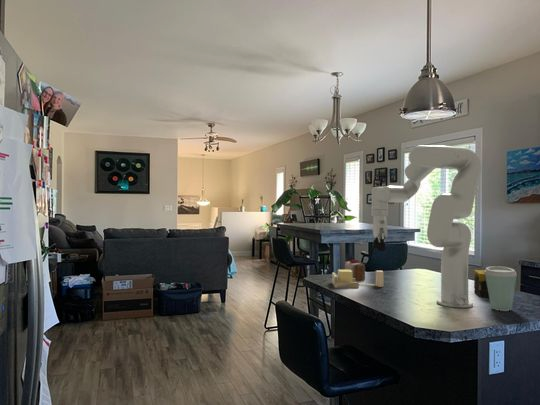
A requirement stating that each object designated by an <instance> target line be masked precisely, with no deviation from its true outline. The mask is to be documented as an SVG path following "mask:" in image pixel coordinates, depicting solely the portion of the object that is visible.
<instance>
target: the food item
mask: <svg viewBox="0 0 540 405" xmlns="http://www.w3.org/2000/svg"><path fill="white" fill-rule="evenodd" d="M344 270H351V271H352V278H355V282H359V281H361V280H362V281H363V282H364V281H365V280H366V265H365V264H363V263H360V260H359V259H352V260H349V261H345V262H344ZM362 281H361V282H362Z"/></svg>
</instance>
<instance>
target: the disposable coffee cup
mask: <svg viewBox="0 0 540 405" xmlns="http://www.w3.org/2000/svg"><path fill="white" fill-rule="evenodd" d="M484 270H485V272H484V274H485V276H486V282H487V287H488V293H489V302H490V303H489V304H490V307H491V309H493V310H494V309H495V310H496V311H499V310H500V311H501V312H509V310H510V311H512V308H513V302H514V296H515V288H516V283H517V282H516V281H517V276H518V275H517V272H516V271H515V270H516V269H513V268H511V267H507V266H498V265H497V266H495V265H493V266H492V265H491V266H486V267H485V269H484ZM500 311H499V312H500Z"/></svg>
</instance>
